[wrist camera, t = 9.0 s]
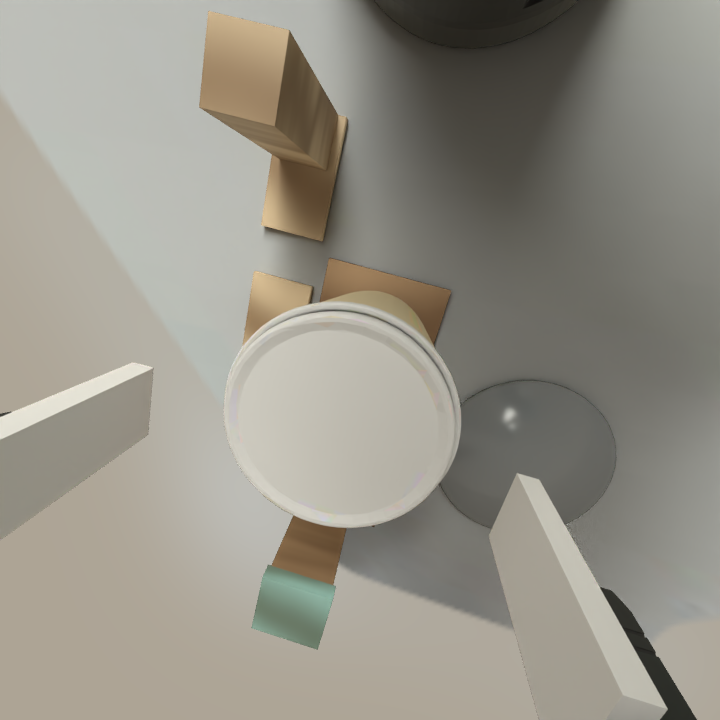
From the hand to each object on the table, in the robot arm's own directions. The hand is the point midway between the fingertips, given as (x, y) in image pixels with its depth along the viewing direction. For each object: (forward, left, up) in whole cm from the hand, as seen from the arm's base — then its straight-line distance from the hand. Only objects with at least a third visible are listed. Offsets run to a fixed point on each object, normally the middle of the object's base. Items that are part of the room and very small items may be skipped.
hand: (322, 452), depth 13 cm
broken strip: (-4, -7, -14) cm, 15 cm away
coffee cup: (0, 0, -13) cm, 13 cm away
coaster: (+5, +13, -14) cm, 19 cm away
